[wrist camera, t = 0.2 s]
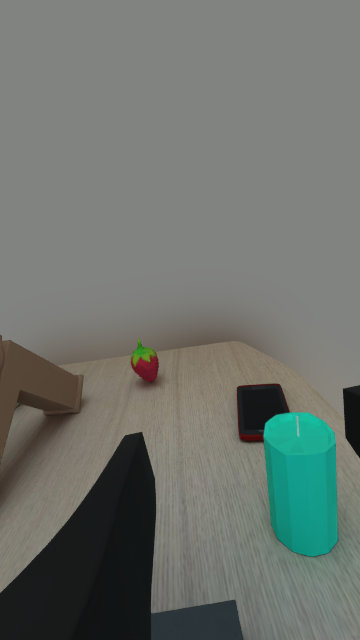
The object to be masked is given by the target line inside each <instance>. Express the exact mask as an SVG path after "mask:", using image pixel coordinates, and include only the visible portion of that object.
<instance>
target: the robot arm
mask: <svg viewBox="0 0 360 640" xmlns="http://www.w3.org/2000/svg"><path fill="white" fill-rule="evenodd" d="M343 399H344V417H345V435H346V439H347V441H348V442H349V443H350V445H351V446H352V448H353V449H354V451H355V452H356V454H357V455H358V456H359V458H360V385H359V386H354V387H349V388H345V389H343ZM155 523H156V490H155V477H154V474H153V470H152V466H151V463H150V459H149V456H148V452H147V448H146V445H145V441H144V437H143V434H142V432H139V433H134V434H130V435H125V436H124V438H123V439H122V441H121V442H120V444H119V446H118V447H117V449H116V451H115V452H114V454H113V456H112V457H111V459H110V461H109V462H108V464H107V466H106V467H105V469H104V470H103V472H102V473H101V475H100V476H99V478H98V479H97V481H96V483H95V484H94V486H93V487H92V488H91V490H90V491H89V493H88V494H87V495H86V497H85V498H84V500H83V501H82V503H81V504H80V505H79V507H78V508H77V509H76V511H75V512H74V513H73V515H72V516H71V517H70V518H69V520H68V521H67V522H66V523H65V525H64V526H63V527H62V528H61V529H60V531H59V532H58V533H57V534H56V535H55V537H54V538H53V539H52V540H51V541H50V542H49V543H48V545H47V546H46V547H45V548H44V549H43V550H42V551H41V552H40V553H39V554H38V555H37V556H36V557H35V558H34V559H33V560H32V561H31V563H30V564H29V565H28V566H27V567H26V568H25V569H24V570H23V571H22V572H21V573H20V574H19V575H18V576H17V577H16V578H15V579H14V580H13V581H12V582H11V583H10V584H9V585H8V586H7V587H6V588H5V589H4V590H3V591H2V592H1V593H0V640H151V584H152V569H153V554H154V539H155Z"/></svg>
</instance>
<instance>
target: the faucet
mask: <svg viewBox="0 0 360 640" xmlns="http://www.w3.org/2000/svg"><path fill="white" fill-rule="evenodd" d="M83 377H84V376H83V375H73V374H71V373H69V372H67V371H65V370H64V369H62V368H60V367H58V366H56V365H54V364H53V363H51V362H49V361H47V360H45V359H43V358H42V357H40V356H38V355H36V354H34V353H32V352H31V351H29V350H27V349H25V348H23V347H22V346H20V345H18V344H16V343H14V342H12V341H11V340H7V341H2V336H1V335H0V463H1V459H2V455H3V452H4V448H5V444H6V440H7V437H8V433H9V429H10V425H11V421H12V418H13V414H14V410H15V406H16V403H20V404H23V405H27V406H30V407H34V408H37V409H41V410H44V411H43V414H44V415H52V414H66V413H79V412H80V405H81V396H82V387H83Z"/></svg>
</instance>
